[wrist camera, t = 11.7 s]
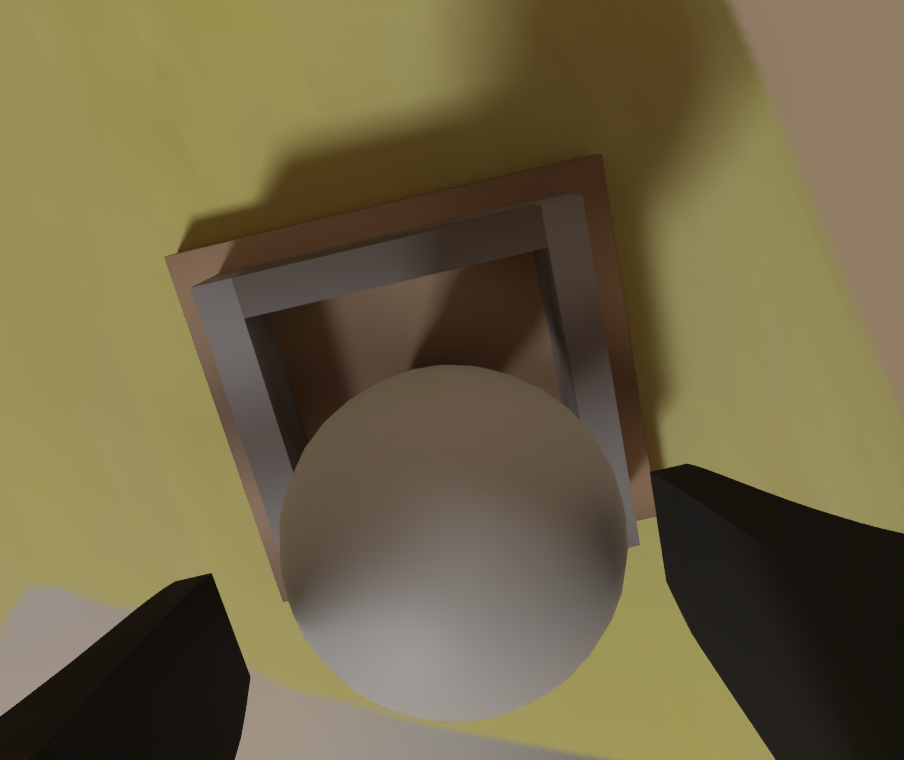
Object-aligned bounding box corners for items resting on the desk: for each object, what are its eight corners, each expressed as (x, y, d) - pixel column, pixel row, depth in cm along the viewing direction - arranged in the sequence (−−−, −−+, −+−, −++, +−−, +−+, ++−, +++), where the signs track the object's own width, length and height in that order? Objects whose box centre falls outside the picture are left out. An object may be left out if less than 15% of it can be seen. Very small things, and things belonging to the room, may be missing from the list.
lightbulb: (399, 252, 19) (383, 347, 8) (582, 363, 20) (771, 569, 10) (294, 434, 20) (163, 715, 10) (471, 528, 21) (528, 870, 11)
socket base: (646, 501, 23) (687, 558, 19) (288, 583, 23) (267, 654, 19) (592, 154, 19) (629, 150, 16) (176, 252, 20) (127, 268, 16)
